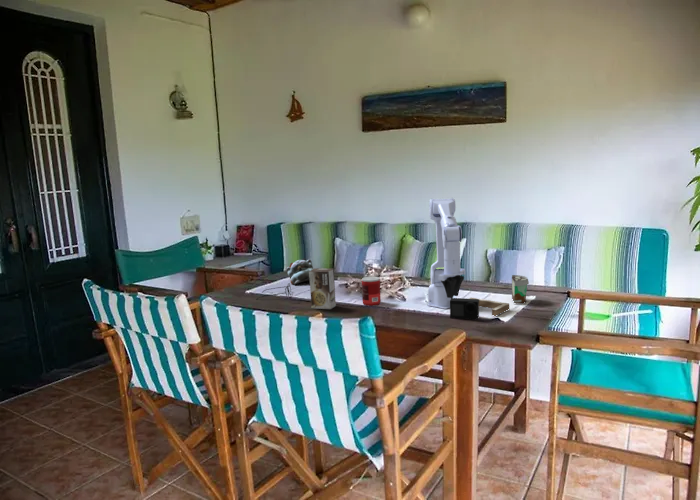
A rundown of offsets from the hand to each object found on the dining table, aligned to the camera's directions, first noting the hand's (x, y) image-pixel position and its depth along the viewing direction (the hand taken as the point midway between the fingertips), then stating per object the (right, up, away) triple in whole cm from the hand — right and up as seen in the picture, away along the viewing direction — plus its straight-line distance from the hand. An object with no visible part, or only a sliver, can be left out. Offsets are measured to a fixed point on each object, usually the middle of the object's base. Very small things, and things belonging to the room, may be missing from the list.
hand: (452, 296), depth 192 cm
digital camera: (+6, -9, +8) cm, 13 cm away
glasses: (-73, -5, +56) cm, 92 cm away
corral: (+15, -7, +16) cm, 23 cm away
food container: (+34, -5, +27) cm, 44 cm away
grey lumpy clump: (-62, 0, +82) cm, 103 cm away
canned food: (-28, -6, +34) cm, 44 cm away
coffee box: (-48, -7, +31) cm, 58 cm away
